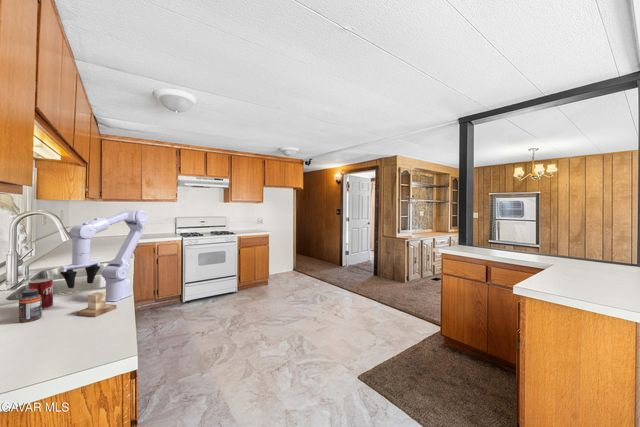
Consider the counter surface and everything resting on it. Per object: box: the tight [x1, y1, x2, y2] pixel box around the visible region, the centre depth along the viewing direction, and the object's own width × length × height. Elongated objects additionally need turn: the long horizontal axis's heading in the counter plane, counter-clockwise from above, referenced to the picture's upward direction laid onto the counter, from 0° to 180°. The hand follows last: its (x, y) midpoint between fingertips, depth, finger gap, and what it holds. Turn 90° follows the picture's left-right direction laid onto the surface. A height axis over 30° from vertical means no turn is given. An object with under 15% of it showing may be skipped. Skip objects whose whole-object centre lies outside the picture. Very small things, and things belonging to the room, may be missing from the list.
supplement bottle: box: [18, 289, 43, 323], centre depth 102 cm, size 6×6×11 cm
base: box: [76, 303, 117, 318], centre depth 110 cm, size 9×9×2 cm
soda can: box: [27, 278, 54, 311], centre depth 114 cm, size 7×7×12 cm
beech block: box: [87, 291, 106, 310], centre depth 110 cm, size 4×4×6 cm
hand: (80, 285), depth 112 cm, fingers open, 7 cm apart
